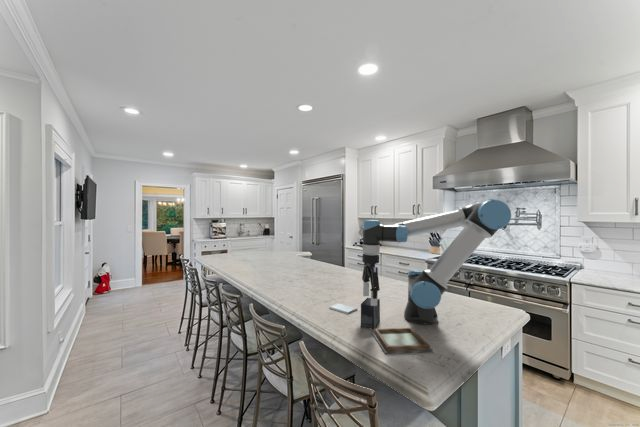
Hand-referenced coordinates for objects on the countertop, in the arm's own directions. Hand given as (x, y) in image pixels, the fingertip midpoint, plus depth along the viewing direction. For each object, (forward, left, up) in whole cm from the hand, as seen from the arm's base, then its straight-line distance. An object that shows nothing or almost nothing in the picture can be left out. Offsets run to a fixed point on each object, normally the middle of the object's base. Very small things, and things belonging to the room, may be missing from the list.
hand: (369, 300), depth 126 cm
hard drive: (+9, -20, -11) cm, 24 cm away
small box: (0, 0, -11) cm, 11 cm away
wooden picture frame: (-7, +18, -11) cm, 22 cm away
